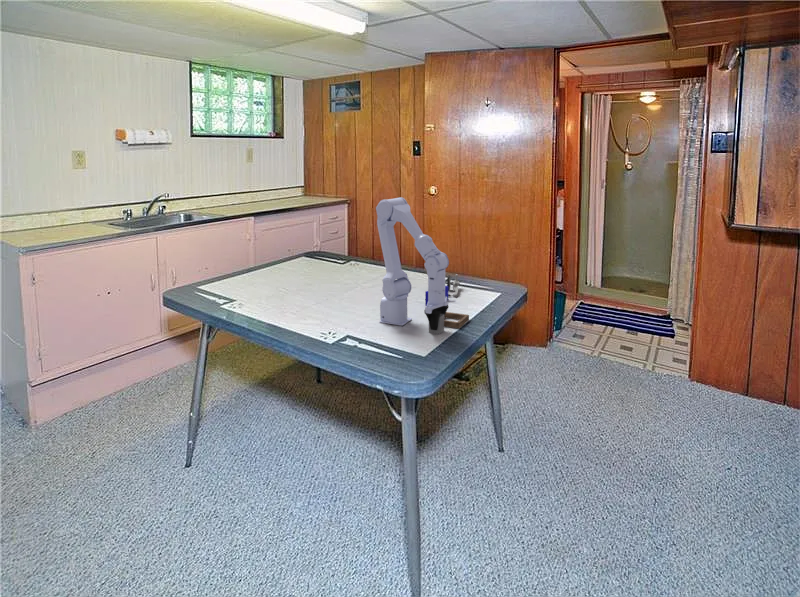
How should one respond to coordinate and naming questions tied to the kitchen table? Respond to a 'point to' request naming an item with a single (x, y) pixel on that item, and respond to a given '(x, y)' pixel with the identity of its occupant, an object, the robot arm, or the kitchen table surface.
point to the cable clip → (427, 295)
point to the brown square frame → (461, 317)
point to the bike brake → (453, 285)
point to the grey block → (440, 326)
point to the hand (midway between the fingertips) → (436, 327)
